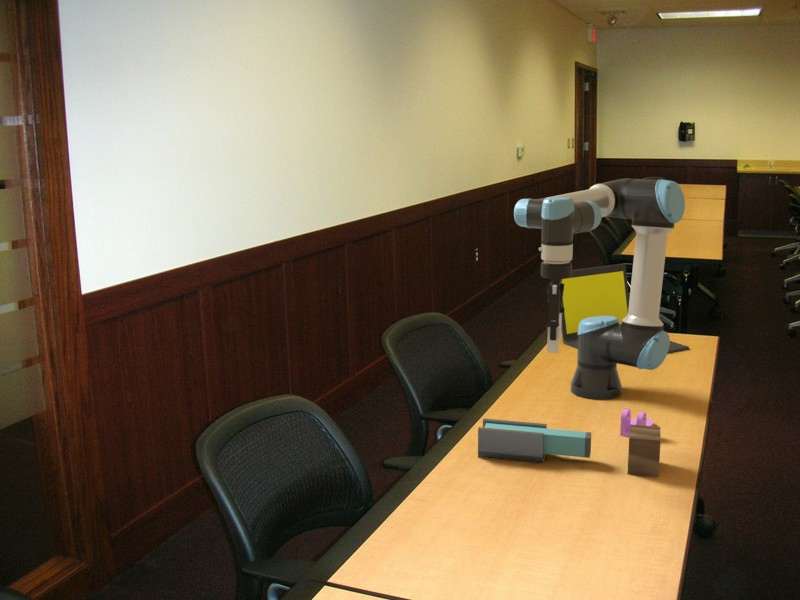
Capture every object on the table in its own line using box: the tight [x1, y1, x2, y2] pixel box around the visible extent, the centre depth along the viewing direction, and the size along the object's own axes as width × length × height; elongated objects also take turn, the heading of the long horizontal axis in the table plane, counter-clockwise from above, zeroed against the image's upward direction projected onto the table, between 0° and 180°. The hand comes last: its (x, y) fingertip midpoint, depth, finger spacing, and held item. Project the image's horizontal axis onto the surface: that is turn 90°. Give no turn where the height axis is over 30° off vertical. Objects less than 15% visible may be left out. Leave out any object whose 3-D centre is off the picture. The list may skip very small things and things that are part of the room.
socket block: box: [627, 424, 661, 478], centre depth 198 cm, size 9×7×9 cm
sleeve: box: [477, 418, 548, 465], centre depth 207 cm, size 7×16×8 cm, turn 73°
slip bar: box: [484, 423, 592, 459], centre depth 205 cm, size 4×26×5 cm, turn 73°
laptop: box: [559, 263, 690, 355], centre depth 301 cm, size 33×35×26 cm
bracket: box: [619, 408, 654, 438], centre depth 222 cm, size 13×6×7 cm, turn 146°
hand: (554, 344), depth 208 cm, fingers open, 13 cm apart
